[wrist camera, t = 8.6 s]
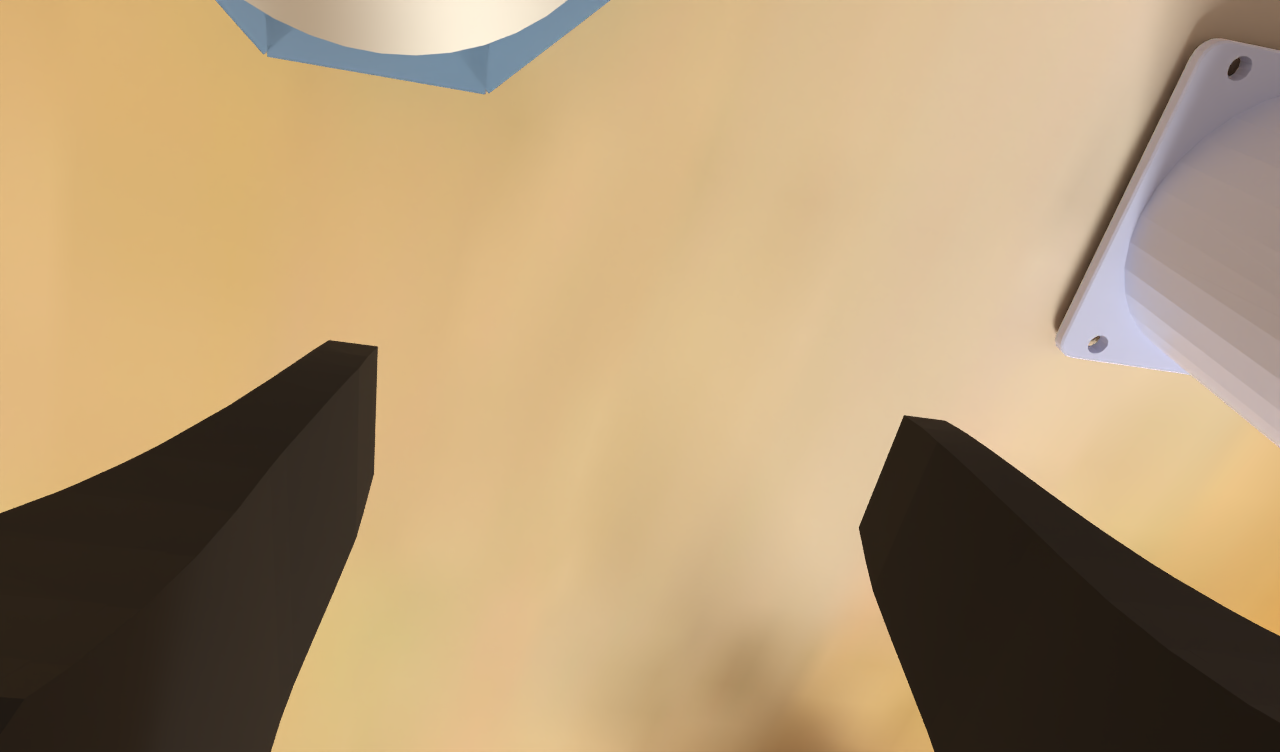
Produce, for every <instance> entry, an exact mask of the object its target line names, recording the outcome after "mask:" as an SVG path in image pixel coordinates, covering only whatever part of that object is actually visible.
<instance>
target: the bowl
mask: <svg viewBox="0 0 1280 752" xmlns="http://www.w3.org/2000/svg"><path fill="white" fill-rule="evenodd" d="M216 1H217V3H218V4H219V5H220V6H221V7H222V8H223V9H224V10H225V12H226V13H227V14H228V15H229V16H230V17H231V18H232V20H233V21H234V22H235V23H236V24H237V25H238V26H239V27H240V29H241V30H242V31H243V32H244V33H245V34H246V35H247V36H248V38H249V39H250V40H251V41H252V42H253V43H254V44H255V45H256V47H257V48H258V49H259V50H260V51H261V52H262V53H263V54H265V53H267V57H273V58H278V59H284V60H290V61H296V62H301V63H307V64H313V65H319V66H325V67H330V68H336V69H342V70H348V71H353V72H359V73H365V74H371V75H376V76H382V77H388V78H394V79H399V80H405V81H411V82H417V83H423V84H428V85H434V86H440V87H446V88H451V89H457V90H463V91H469V92H474V93H480V94H486V91H487V92H488V93H490V92H491V91H493V90H494V89H495V88H497V87H498V86H499V85H501V84H502V83H503V82H504V81H506V80H507V79H508V78H510V77H511V76H512V75H514V74H515V73H516V72H517V71H519V70H520V69H521V68H523V67H524V66H525V65H527V64H528V63H529V62H531V61H532V60H533V59H534V58H536V57H537V56H538V55H540V54H541V53H542V52H544V51H545V50H546V49H547V48H549V47H550V46H551V45H553V44H554V43H555V42H557V41H558V40H559V39H560V38H562V37H563V36H564V35H566V34H567V33H568V32H570V31H571V30H572V29H574V28H575V27H576V26H577V25H579V24H580V23H581V22H583V21H584V20H585V19H587V18H588V17H589V16H590V15H592V14H593V13H594V12H596V11H597V10H598V9H600V8H601V7H602V6H603V5H605V4H606V3H607V2H609V1H610V0H567V1H566V2H565V3H563V4H562V5H561V6H559V7H558V8H557V9H555V10H554V11H553V12H551V13H550V14H549V15H547V16H546V17H544V18H542V19H540V20H539V21H537V22H535V23H533V24H531V25H530V26H528V27H526V28H524V29H522V30H521V31H519V32H517V33H515V34H512V35H510V36H507V37H504V38H502V39H499V40H496V41H494V42H491V43H489V44H486V45H483V46H478V47H474V48H469V49H465V50H460V51H456V52H451V53H440V54H428V55H400V54H382V53H376V52H371V51H366V50H361V49H355V48H350V47H345V46H342V45H339V44H336V43H333V42H330V41H327V40H324V39H320V38H317V37H314V36H311V35H309V34H306V33H304V32H302V31H300V30H298V29H296V28H293V27H291V26H289V25H287V24H285V23H283V22H281V21H278V20H276V19H274V18H272V17H271V16H269V15H268V14H266V13H264V12H263V11H261V10H259V9H258V8H256V7H254V6H253V5H251V4H249V3H248V2H246V1H245V0H216Z"/></svg>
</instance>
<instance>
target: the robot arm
mask: <svg viewBox="0 0 1280 752" xmlns="http://www.w3.org/2000/svg"><path fill="white" fill-rule="evenodd" d="M1237 58H1240V64H1239V68H1238V69H1237V70H1236V72H1235V73H1234V74H1232V75H1230V76H1229V77H1228V74H1227V73H1228V69H1229V66H1230V65H1231V63H1232V62H1233V61H1234V60H1235V59H1237ZM1097 336H1100V339H1099V340H1098V341H1097V342H1096V343H1095V344H1093V345H1091V346H1088V344H1089V342H1090V341H1091V340H1092V339H1093V338H1095V337H1097ZM1055 342H1056V346H1057V347H1058V348H1059V349H1060V350H1061V351H1062V352H1063V353H1064V354H1065V355H1066V356H1068V357H1071V358H1078V359H1084V360H1091V361H1098V362H1105V363H1112V364H1119V365H1126V366H1133V367H1140V368H1147V369H1154V370H1160V371H1167V372H1174V373H1181V374H1188V375H1191V376H1193V377H1194V378H1195V379H1196V380H1198V381H1199V382H1200V383H1201V384H1202V385H1204V386H1205V387H1206V388H1207V389H1208V390H1210V391H1211V392H1212V393H1213V394H1215V395H1216V396H1217V397H1218V398H1219V399H1221V400H1222V401H1223V402H1224V403H1226V404H1227V405H1228V406H1229V407H1230V408H1232V409H1233V410H1234V411H1235V412H1237V413H1238V414H1239V415H1240V416H1241V417H1243V418H1244V419H1245V420H1246V421H1248V422H1249V423H1250V424H1251V425H1252V426H1254V427H1255V428H1256V429H1257V430H1258V431H1260V432H1261V433H1262V434H1263V435H1265V436H1266V437H1267V438H1268V439H1269V440H1271V441H1272V442H1273V443H1274V444H1276V445H1277V446H1278V447H1279V448H1280V50H1276V49H1271V48H1266V47H1262V46H1257V45H1252V44H1247V43H1242V42H1237V41H1233V40H1228V39H1223V38H1212V39H1210V40H1208V41H1205V42H1203V43H1202V44H1201V45H1200V46H1199V47H1197V48H1196V49H1195V51H1194V52H1193V54H1192V55H1191V56H1190V58H1189V60H1188V62H1187V64H1186V66H1185V68H1184V71H1183V73H1182V75H1181V77H1180V79H1179V81H1178V83H1177V85H1176V87H1175V89H1174V91H1173V93H1172V95H1171V97H1170V100H1169V102H1168V104H1167V106H1166V108H1165V110H1164V112H1163V114H1162V116H1161V118H1160V120H1159V122H1158V124H1157V126H1156V129H1155V131H1154V133H1153V135H1152V137H1151V139H1150V141H1149V143H1148V145H1147V147H1146V149H1145V151H1144V153H1143V155H1142V158H1141V160H1140V162H1139V164H1138V166H1137V168H1136V170H1135V172H1134V174H1133V176H1132V178H1131V180H1130V182H1129V184H1128V187H1127V189H1126V191H1125V193H1124V195H1123V197H1122V199H1121V201H1120V203H1119V205H1118V207H1117V209H1116V211H1115V213H1114V216H1113V218H1112V220H1111V222H1110V224H1109V226H1108V228H1107V230H1106V232H1105V234H1104V236H1103V238H1102V240H1101V242H1100V245H1099V247H1098V249H1097V251H1096V253H1095V255H1094V257H1093V259H1092V261H1091V263H1090V265H1089V267H1088V269H1087V271H1086V274H1085V276H1084V278H1083V280H1082V282H1081V284H1080V286H1079V288H1078V290H1077V292H1076V294H1075V296H1074V298H1073V300H1072V303H1071V305H1070V307H1069V309H1068V311H1067V313H1066V315H1065V317H1064V319H1063V321H1062V323H1061V325H1060V327H1059V329H1058V332H1057V334H1056V338H1055ZM377 354H378V347H377V346H369V345H361V344H354V343H346V342H338V341H331V340H329V341H327V342H325V343H324V344H322V345H320V346H319V347H317V348H316V349H314V350H313V351H311V352H310V353H308V354H307V355H305V356H304V357H302V358H301V359H299V360H298V361H296V362H295V363H294V364H292V365H291V366H289V367H288V368H286V369H285V370H283V371H282V372H280V373H279V374H277V375H276V376H274V377H273V378H271V379H270V380H268V381H266V382H265V383H263V384H262V385H260V386H259V387H257V388H256V389H254V390H252V391H251V392H249V393H248V394H246V395H245V396H243V397H242V398H240V399H238V400H237V401H235V402H234V403H232V404H231V405H229V406H227V407H226V408H224V409H222V410H220V411H219V412H217V413H215V414H213V415H212V416H210V417H208V418H206V419H205V420H203V421H201V422H199V423H198V424H196V425H194V426H192V427H190V428H189V429H187V430H185V431H183V432H182V433H180V434H178V435H176V436H175V437H173V438H171V439H169V440H168V441H166V442H164V443H162V444H160V445H158V446H156V447H155V448H153V449H151V450H149V451H147V452H145V453H143V454H141V455H139V456H137V457H135V458H133V459H130V460H128V461H126V462H124V463H122V464H120V465H118V466H116V467H114V468H111V469H109V470H107V471H105V472H102V473H100V474H98V475H96V476H93V477H91V478H89V479H87V480H85V481H82V482H80V483H78V484H76V485H73V486H71V487H68V488H66V489H64V490H61V491H59V492H56V493H54V494H51V495H48V496H45V497H43V498H40V499H37V500H35V501H32V502H29V503H27V504H24V505H21V506H19V507H16V508H13V509H11V510H8V511H5V512H3V513H0V752H271V749H272V746H273V743H274V740H275V736H276V733H277V730H278V727H279V723H280V720H281V717H282V715H283V712H284V709H285V707H286V704H287V701H288V699H289V696H290V693H291V691H292V688H293V686H294V683H295V681H296V678H297V676H298V674H299V671H300V669H301V667H302V664H303V662H304V660H305V657H306V655H307V653H308V650H309V648H310V646H311V643H312V641H313V639H314V636H315V634H316V632H317V629H318V627H319V625H320V622H321V620H322V618H323V615H324V613H325V611H326V608H327V606H328V604H329V601H330V599H331V597H332V594H333V592H334V590H335V587H336V585H337V583H338V580H339V578H340V576H341V573H342V571H343V568H344V566H345V564H346V561H347V559H348V557H349V554H350V552H351V549H352V547H353V545H354V542H355V540H356V537H357V533H358V530H359V526H360V523H361V519H362V516H363V512H364V509H365V505H366V501H367V498H368V494H369V490H370V486H371V483H372V479H373V475H374V452H375V419H376V387H377ZM859 531H860V535H861V540H862V545H863V550H864V555H865V560H866V564H867V568H868V573H869V577H870V581H871V585H872V589H873V592H874V595H875V597H876V600H877V603H878V606H879V608H880V611H881V614H882V616H883V619H884V622H885V624H886V627H887V630H888V632H889V635H890V637H891V640H892V643H893V645H894V648H895V650H896V653H897V655H898V658H899V660H900V663H901V665H902V668H903V671H904V673H905V676H906V678H907V681H908V683H909V686H910V688H911V691H912V693H913V696H914V699H915V701H916V704H917V706H918V709H919V711H920V714H921V716H922V719H923V722H924V724H925V727H926V729H927V732H928V735H929V737H930V740H931V743H932V746H933V749H934V752H1280V636H1279V635H1277V634H1275V633H1273V632H1271V631H1269V630H1267V629H1265V628H1263V627H1261V626H1259V625H1257V624H1255V623H1253V622H1251V621H1250V620H1248V619H1246V618H1244V617H1242V616H1240V615H1238V614H1237V613H1235V612H1233V611H1231V610H1229V609H1227V608H1226V607H1224V606H1222V605H1221V604H1219V603H1217V602H1215V601H1214V600H1212V599H1210V598H1209V597H1207V596H1205V595H1203V594H1202V593H1200V592H1198V591H1197V590H1195V589H1193V588H1191V587H1190V586H1188V585H1186V584H1185V583H1183V582H1181V581H1179V580H1178V579H1176V578H1174V577H1173V576H1171V575H1169V574H1168V573H1166V572H1165V571H1163V570H1161V569H1160V568H1158V567H1156V566H1155V565H1153V564H1152V563H1150V562H1149V561H1147V560H1145V559H1144V558H1142V557H1141V556H1139V555H1138V554H1136V553H1135V552H1133V551H1132V550H1130V549H1129V548H1127V547H1126V546H1124V545H1123V544H1121V543H1120V542H1118V541H1117V540H1115V539H1114V538H1112V537H1111V536H1109V535H1108V534H1106V533H1105V532H1103V531H1102V530H1100V529H1099V528H1098V527H1096V526H1095V525H1093V524H1092V523H1090V522H1089V521H1088V520H1086V519H1085V518H1083V517H1082V516H1080V515H1079V514H1078V513H1076V512H1075V511H1073V510H1072V509H1071V508H1069V507H1068V506H1066V505H1065V504H1064V503H1062V502H1061V501H1060V500H1058V499H1057V498H1055V497H1054V496H1053V495H1051V494H1050V493H1049V492H1047V491H1046V490H1044V489H1043V488H1042V487H1040V486H1039V485H1038V484H1036V483H1035V482H1034V481H1032V480H1031V479H1029V478H1028V477H1027V476H1025V475H1024V474H1023V473H1021V472H1020V471H1019V470H1017V469H1016V468H1015V467H1013V466H1012V465H1010V464H1009V463H1008V462H1006V461H1005V460H1004V459H1002V458H1001V457H1000V456H998V455H997V454H995V453H994V452H993V451H991V450H990V449H988V448H987V447H986V446H984V445H983V444H981V443H980V442H978V441H977V440H976V439H974V438H973V437H971V436H970V435H968V434H967V433H965V432H963V431H962V430H960V429H959V428H957V427H955V426H953V425H952V424H950V423H948V422H946V421H943V420H936V419H928V418H920V417H913V416H905V415H904V417H903V419H902V422H901V424H900V427H899V429H898V432H897V434H896V437H895V439H894V442H893V444H892V447H891V449H890V451H889V454H888V456H887V459H886V461H885V464H884V466H883V469H882V471H881V474H880V476H879V479H878V481H877V484H876V486H875V489H874V491H873V494H872V496H871V499H870V501H869V504H868V506H867V509H866V511H865V514H864V516H863V518H862V521H861V523H860V526H859Z"/></svg>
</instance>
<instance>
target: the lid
mask: <svg viewBox="0 0 1280 752" xmlns="http://www.w3.org/2000/svg"><path fill="white" fill-rule="evenodd" d="M245 1H246V2H248V3H249V4H251V5H253V6H254V7H256V8H258V9H259V10H261V11H263V12H264V13H266V14H268V15H269V16H271V17H272V18H274V19H276V20H278V21H281V22H283V23H285V24H287V25H289V26H291V27H293V28H296V29H298V30H300V31H302V32H304V33H306V34H309V35H311V36H314V37H317V38H320V39H324V40H327V41H330V42H333V43H336V44H339V45H342V46H345V47H350V48H355V49H361V50H366V51H371V52H376V53H382V54H400V55H428V54H440V53H451V52H456V51H460V50H465V49H469V48H474V47H478V46H483V45H486V44H489V43H491V42H494V41H496V40H499V39H502V38H504V37H507V36H510V35H512V34H515V33H517V32H519V31H521V30H522V29H524V28H526V27H528V26H530V25H531V24H533V23H535V22H537V21H539V20H540V19H542V18H544V17H546V16H547V15H549V14H550V13H551V12H553V11H554V10H555V9H557V8H558V7H559V6H561V5H562V4H563V3H565V2H566V1H567V0H245Z"/></svg>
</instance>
